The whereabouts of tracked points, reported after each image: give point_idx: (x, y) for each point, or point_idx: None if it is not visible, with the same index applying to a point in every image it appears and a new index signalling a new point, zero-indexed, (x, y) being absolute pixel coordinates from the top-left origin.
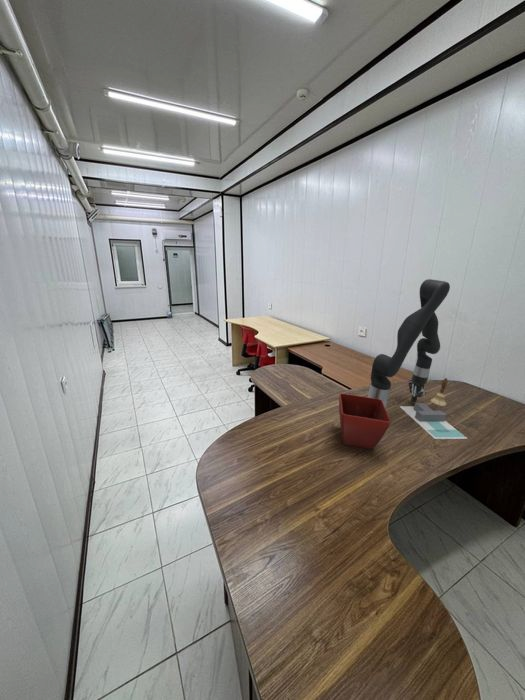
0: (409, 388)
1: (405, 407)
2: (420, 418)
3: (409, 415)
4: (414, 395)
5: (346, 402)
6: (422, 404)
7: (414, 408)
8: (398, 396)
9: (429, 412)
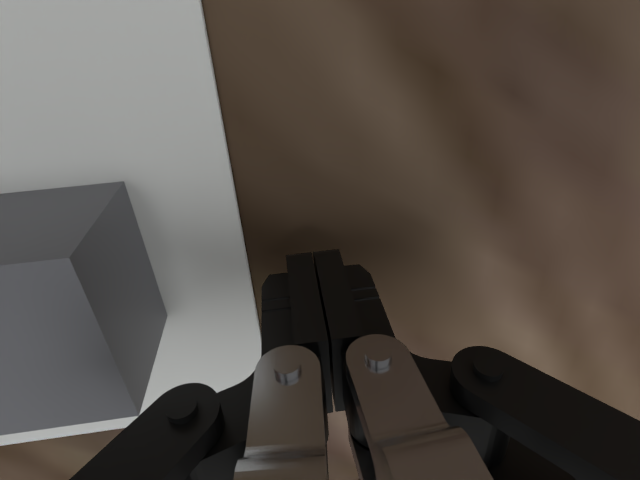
0: (622, 418)
1: (153, 36)
2: None
3: None
4: (272, 381)
5: None
6: (46, 378)
7: (90, 196)
8: (610, 138)
9: None
